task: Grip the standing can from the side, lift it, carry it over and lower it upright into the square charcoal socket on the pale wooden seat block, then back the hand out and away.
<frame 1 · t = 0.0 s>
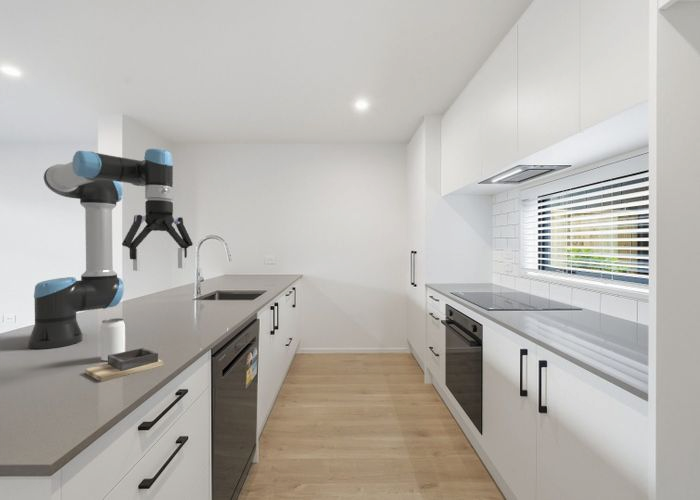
hand: (159, 269, 111), 28 cm above the table, tool pointing down, fingers open, 13 cm apart
can: (113, 358, 113), on the table
seat block: (125, 369, 103), on the table
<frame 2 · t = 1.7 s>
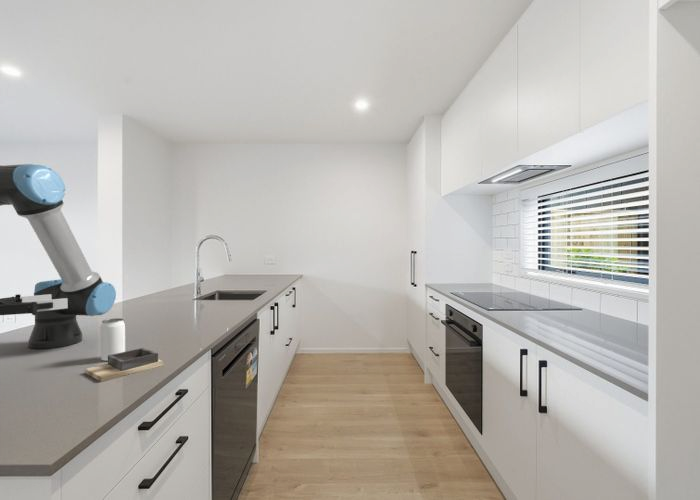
hand: (59, 300, 102), 20 cm above the table, tool horizontal, fingers open, 13 cm apart
nothing on the table moved.
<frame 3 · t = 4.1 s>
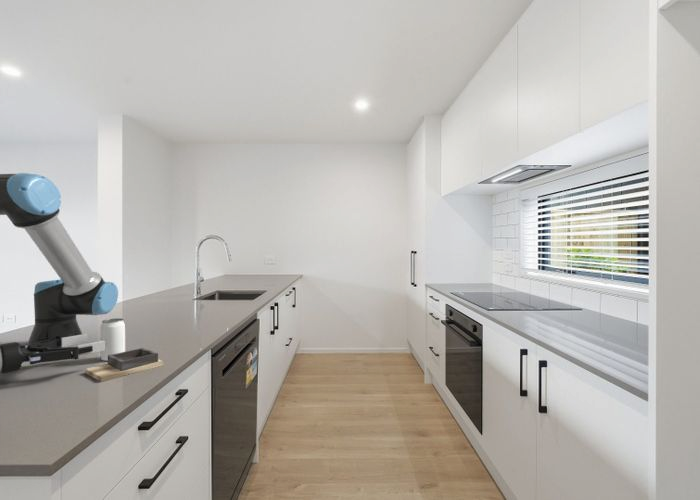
hand: (95, 341, 109), 6 cm above the table, tool horizontal, fingers open, 13 cm apart
nothing on the table moved.
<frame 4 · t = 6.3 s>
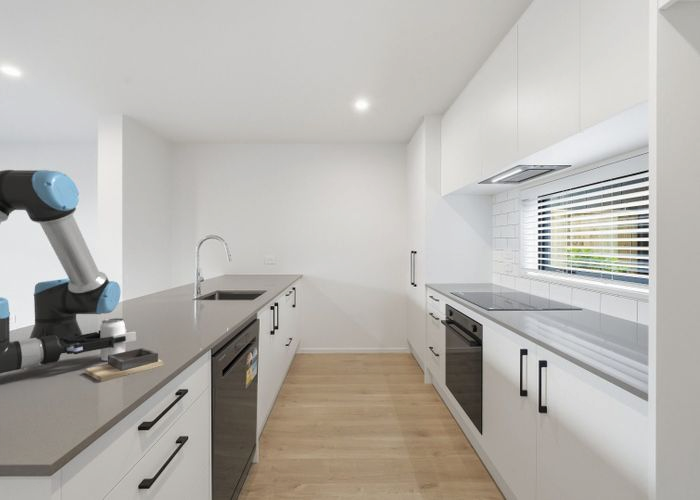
hand: (130, 334, 117), 7 cm above the table, tool horizontal, fingers closed on can, 6 cm apart
can: (113, 358, 113), on the table, touching gripper
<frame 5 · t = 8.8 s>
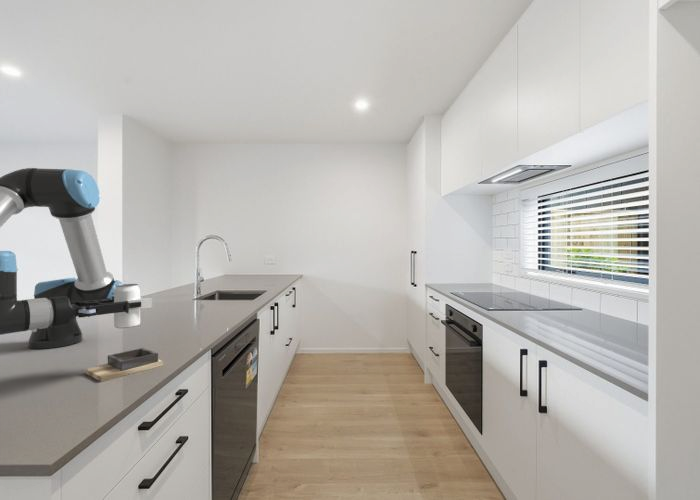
hand: (146, 301, 108), 18 cm above the table, tool horizontal, fingers closed on can, 6 cm apart
can: (127, 326, 104), point 12 cm above the table, touching gripper
when the fingers open (9 cm above the table, at t = 11.4 s): can drops 1 cm, resting on seat block.
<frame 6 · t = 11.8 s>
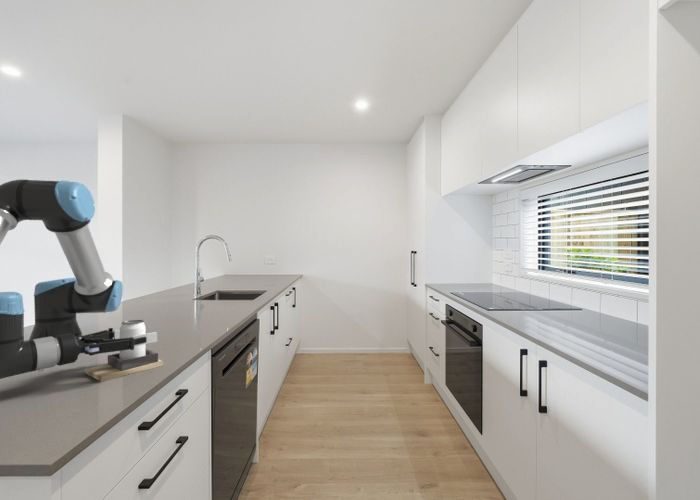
hand: (146, 333, 108), 9 cm above the table, tool horizontal, fingers open, 11 cm apart
can: (132, 363, 104), point 1 cm above the table, touching seat block
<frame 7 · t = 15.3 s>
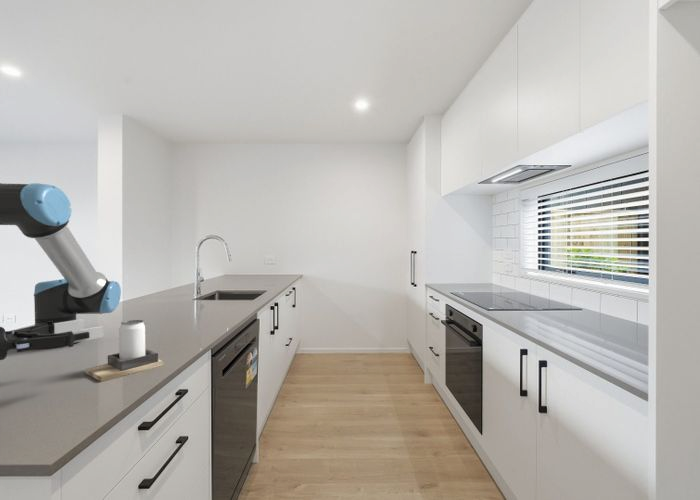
hand: (93, 327, 96), 13 cm above the table, tool horizontal, fingers open, 13 cm apart
nothing on the table moved.
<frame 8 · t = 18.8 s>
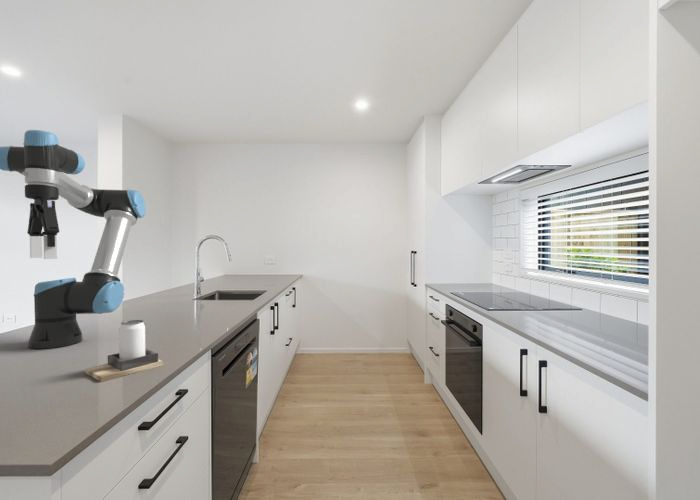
hand: (43, 258, 105), 32 cm above the table, tool pointing down, fingers open, 13 cm apart
nothing on the table moved.
at the end: can 0.1 cm from the target spot on the seat block, point 1.0 cm above the seat block's base; can tilted 0°; the gripper is holding nothing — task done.
